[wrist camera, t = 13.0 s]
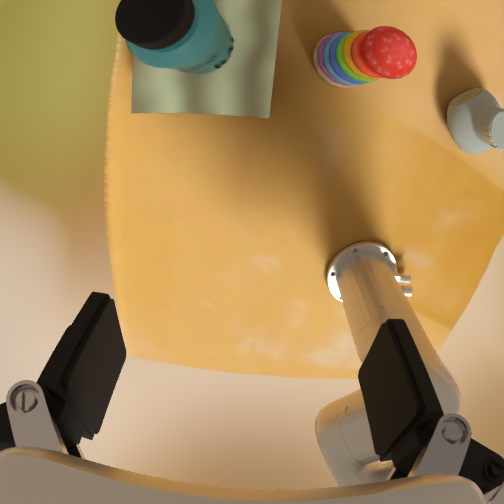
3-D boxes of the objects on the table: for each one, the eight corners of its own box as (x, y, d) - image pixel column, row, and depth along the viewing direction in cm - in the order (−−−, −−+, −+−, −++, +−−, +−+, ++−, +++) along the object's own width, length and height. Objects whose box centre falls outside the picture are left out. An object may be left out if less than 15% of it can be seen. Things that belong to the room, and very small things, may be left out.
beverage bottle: (166, 45, 28) (69, 18, 11) (214, 10, 26) (164, -61, 9) (199, 86, 31) (130, 95, 14) (249, 52, 29) (237, 15, 12)
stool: (279, 4, 32) (283, -13, 25) (267, 112, 40) (269, 118, 33) (160, 2, 31) (141, -12, 24) (152, 107, 39) (131, 113, 32)
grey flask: (477, 81, 34) (517, 88, 25) (494, 126, 37) (532, 141, 29) (431, 108, 38) (469, 119, 29) (451, 154, 41) (487, 174, 32)
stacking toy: (327, 95, 38) (373, 107, 22) (301, 44, 35) (332, 18, 18) (377, 77, 36) (447, 81, 20) (353, 26, 33) (412, -2, 16)
